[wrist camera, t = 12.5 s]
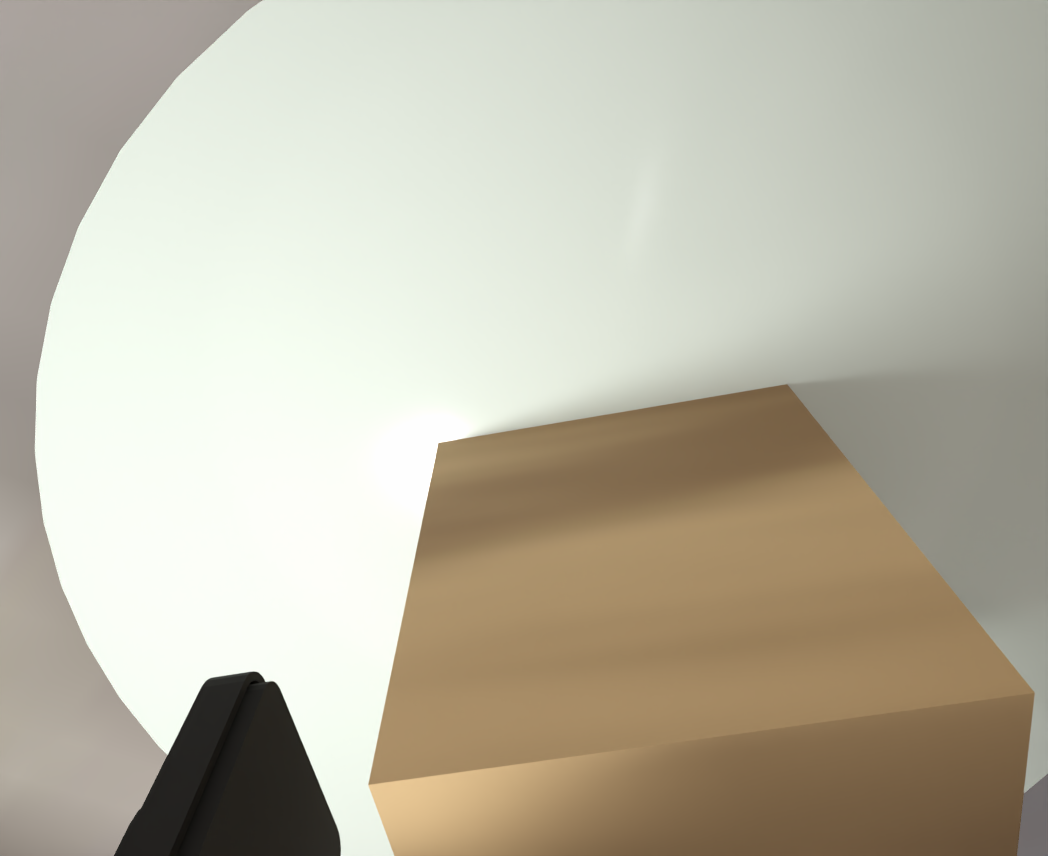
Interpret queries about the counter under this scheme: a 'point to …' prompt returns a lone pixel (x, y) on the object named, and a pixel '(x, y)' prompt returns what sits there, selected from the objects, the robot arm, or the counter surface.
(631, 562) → the block
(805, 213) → the dish
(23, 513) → the counter surface
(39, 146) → the counter surface
